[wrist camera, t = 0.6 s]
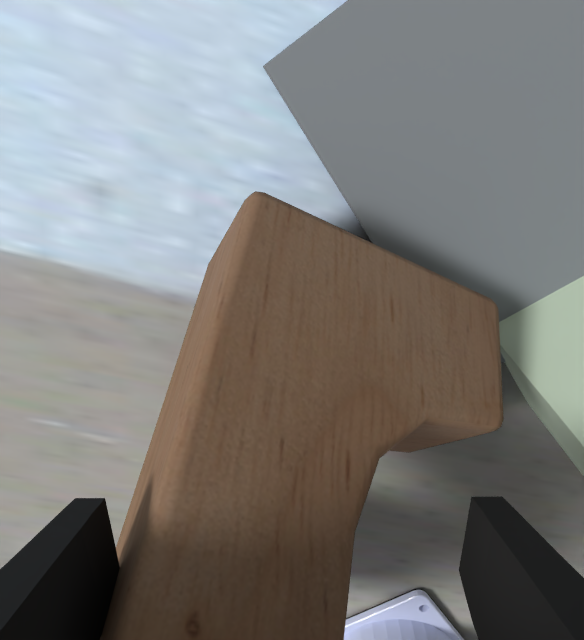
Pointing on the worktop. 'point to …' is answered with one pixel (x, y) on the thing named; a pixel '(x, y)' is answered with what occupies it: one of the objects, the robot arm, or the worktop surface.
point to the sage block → (551, 363)
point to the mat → (453, 134)
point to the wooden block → (292, 427)
